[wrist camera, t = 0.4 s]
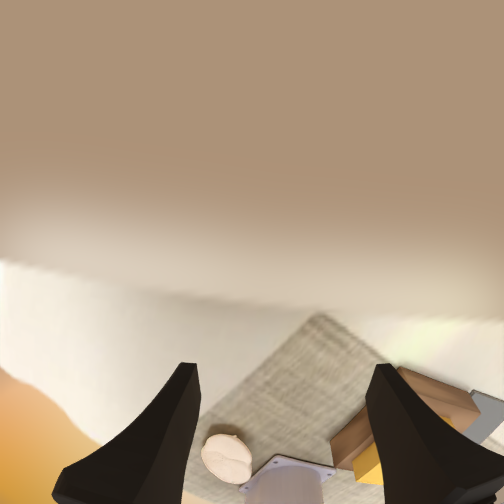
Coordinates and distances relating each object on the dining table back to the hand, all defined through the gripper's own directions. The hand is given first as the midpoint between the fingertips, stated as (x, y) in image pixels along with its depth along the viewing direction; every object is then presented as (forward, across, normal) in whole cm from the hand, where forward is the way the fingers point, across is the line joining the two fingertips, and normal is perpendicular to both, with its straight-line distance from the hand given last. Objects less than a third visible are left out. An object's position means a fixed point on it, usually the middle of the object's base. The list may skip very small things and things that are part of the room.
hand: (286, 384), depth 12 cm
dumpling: (+9, +4, +20) cm, 22 cm away
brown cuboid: (+9, -14, +17) cm, 23 cm away
